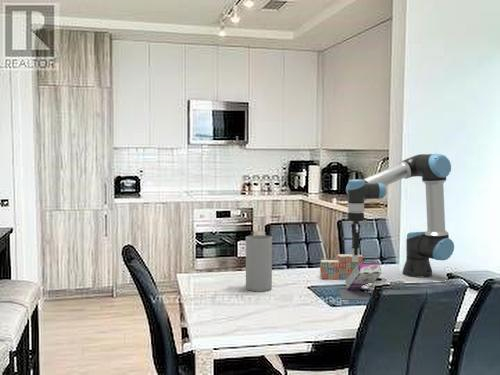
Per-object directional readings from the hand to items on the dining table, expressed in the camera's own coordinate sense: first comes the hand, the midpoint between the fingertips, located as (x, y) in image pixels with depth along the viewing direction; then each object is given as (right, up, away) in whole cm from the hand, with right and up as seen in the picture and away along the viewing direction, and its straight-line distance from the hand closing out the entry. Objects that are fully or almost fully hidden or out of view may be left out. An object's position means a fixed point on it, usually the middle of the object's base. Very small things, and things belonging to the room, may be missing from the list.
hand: (355, 261), depth 241 cm
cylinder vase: (-46, -14, +4) cm, 48 cm away
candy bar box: (+1, -12, +2) cm, 12 cm away
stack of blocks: (-2, -13, +25) cm, 28 cm away
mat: (-1, -14, -9) cm, 17 cm away
